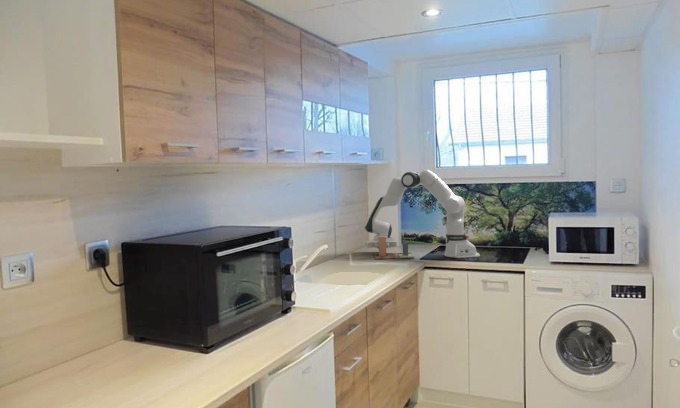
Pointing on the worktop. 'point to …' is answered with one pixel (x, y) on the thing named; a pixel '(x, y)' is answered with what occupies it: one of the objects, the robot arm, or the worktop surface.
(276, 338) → the worktop surface
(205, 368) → the worktop surface
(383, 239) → the block
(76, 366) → the worktop surface
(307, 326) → the worktop surface
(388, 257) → the board
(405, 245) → the grey upright piece
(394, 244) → the robot arm
